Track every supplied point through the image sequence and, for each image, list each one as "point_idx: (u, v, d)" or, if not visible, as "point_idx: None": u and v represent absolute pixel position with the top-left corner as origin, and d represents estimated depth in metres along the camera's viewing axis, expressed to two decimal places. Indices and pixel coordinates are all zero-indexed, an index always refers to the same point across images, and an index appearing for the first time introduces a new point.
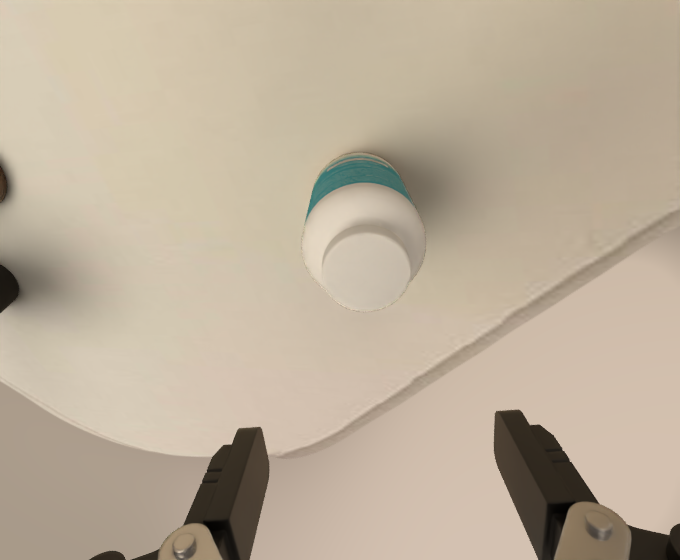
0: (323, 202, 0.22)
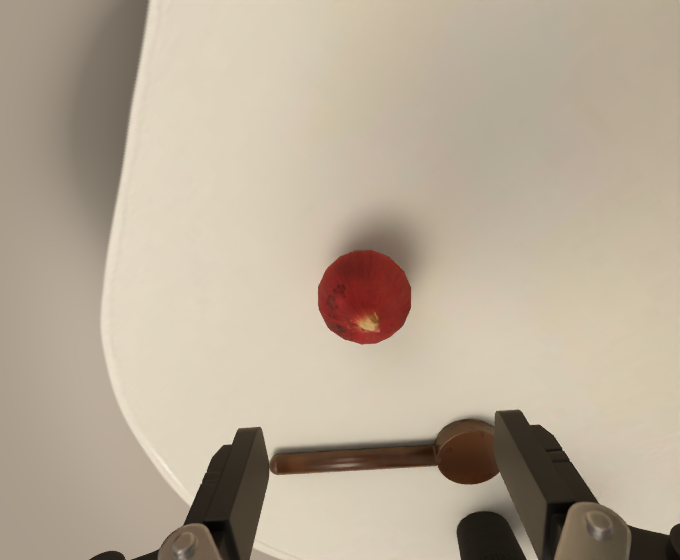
0: None
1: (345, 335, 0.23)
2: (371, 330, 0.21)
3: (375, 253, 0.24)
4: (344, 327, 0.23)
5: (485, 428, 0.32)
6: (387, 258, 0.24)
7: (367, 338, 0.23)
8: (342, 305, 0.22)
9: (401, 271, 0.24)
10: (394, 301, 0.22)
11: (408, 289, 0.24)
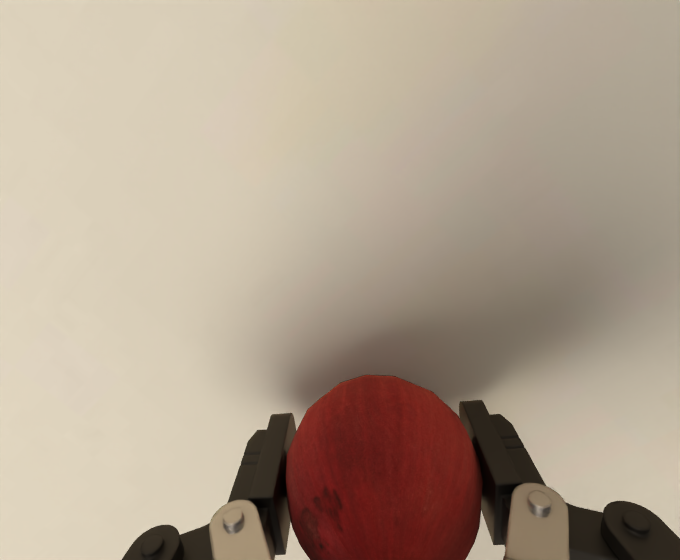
0: None
1: None
2: None
3: (407, 397, 0.11)
4: None
5: None
6: (432, 407, 0.11)
7: None
8: (334, 549, 0.09)
9: (462, 435, 0.11)
10: (457, 532, 0.10)
11: (479, 477, 0.11)
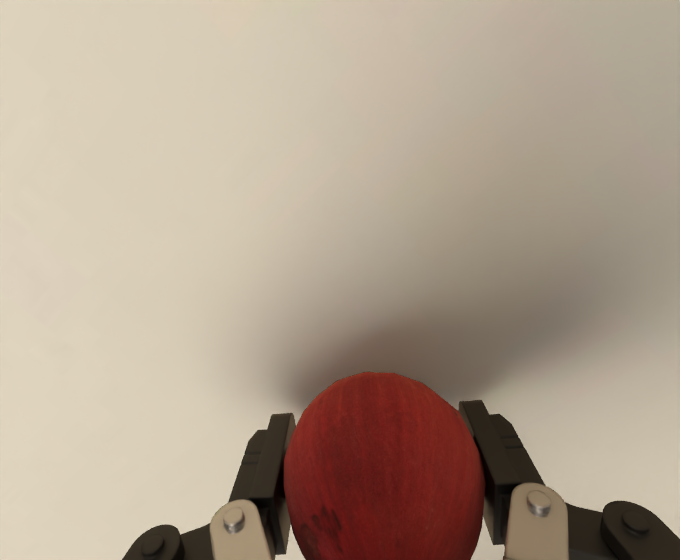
0: None
1: None
2: None
3: (406, 404, 0.11)
4: None
5: None
6: (433, 413, 0.11)
7: None
8: None
9: (465, 439, 0.11)
10: (459, 545, 0.09)
11: (482, 480, 0.11)
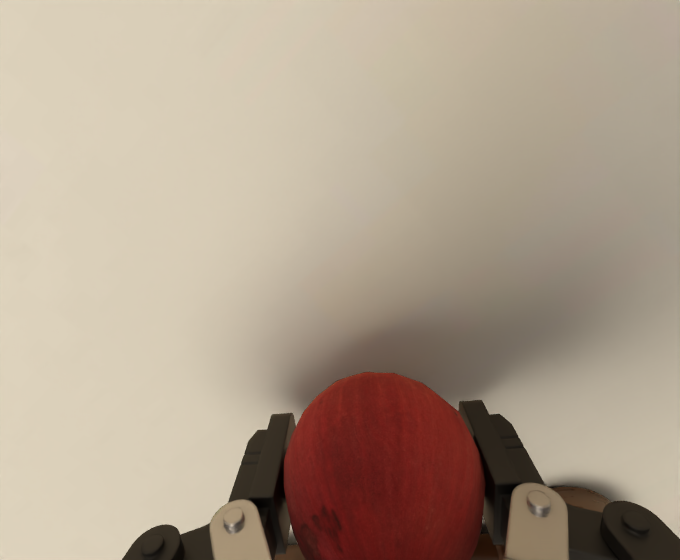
0: None
1: None
2: None
3: (406, 404, 0.11)
4: None
5: (601, 507, 0.16)
6: (434, 413, 0.11)
7: None
8: None
9: (465, 439, 0.11)
10: (459, 545, 0.09)
11: (482, 480, 0.11)
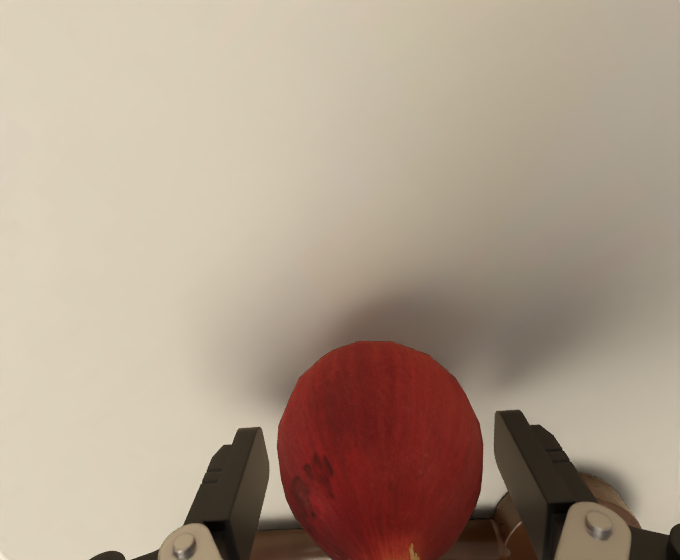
0: None
1: None
2: None
3: (400, 359, 0.11)
4: (334, 559, 0.09)
5: (602, 492, 0.16)
6: (428, 369, 0.11)
7: None
8: (326, 516, 0.09)
9: (461, 397, 0.11)
10: (455, 496, 0.09)
11: (479, 440, 0.10)
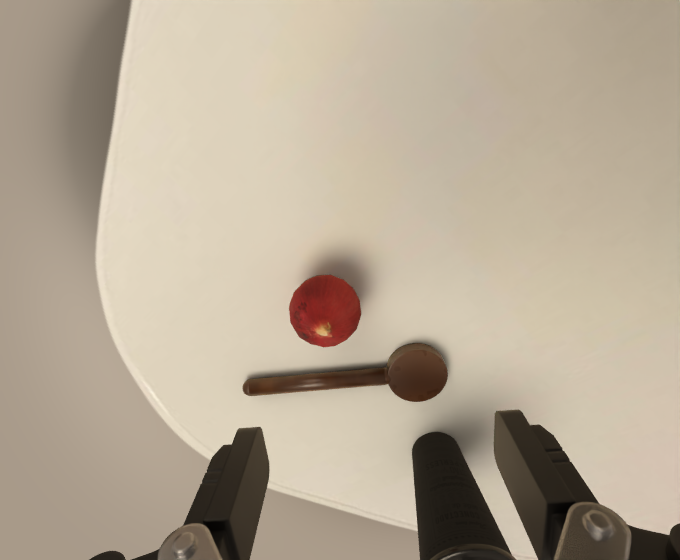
0: None
1: (309, 340, 0.31)
2: (325, 335, 0.29)
3: (330, 277, 0.32)
4: (307, 334, 0.30)
5: (428, 348, 0.37)
6: (339, 281, 0.32)
7: (325, 342, 0.30)
8: (304, 318, 0.30)
9: (350, 290, 0.32)
10: (343, 313, 0.30)
11: (356, 303, 0.32)
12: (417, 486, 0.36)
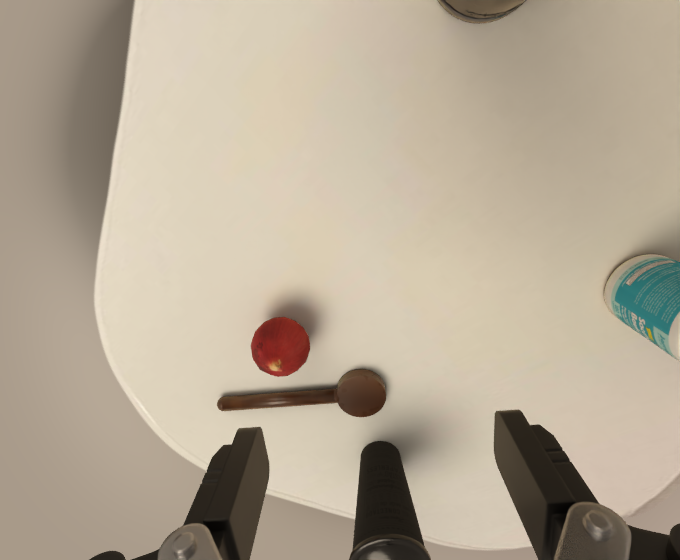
0: None
1: (266, 372, 0.39)
2: (276, 370, 0.36)
3: (284, 320, 0.39)
4: (263, 368, 0.38)
5: (369, 374, 0.45)
6: (291, 323, 0.39)
7: (278, 373, 0.38)
8: (261, 355, 0.38)
9: (300, 331, 0.39)
10: (292, 351, 0.38)
11: (304, 342, 0.39)
12: (359, 487, 0.44)
